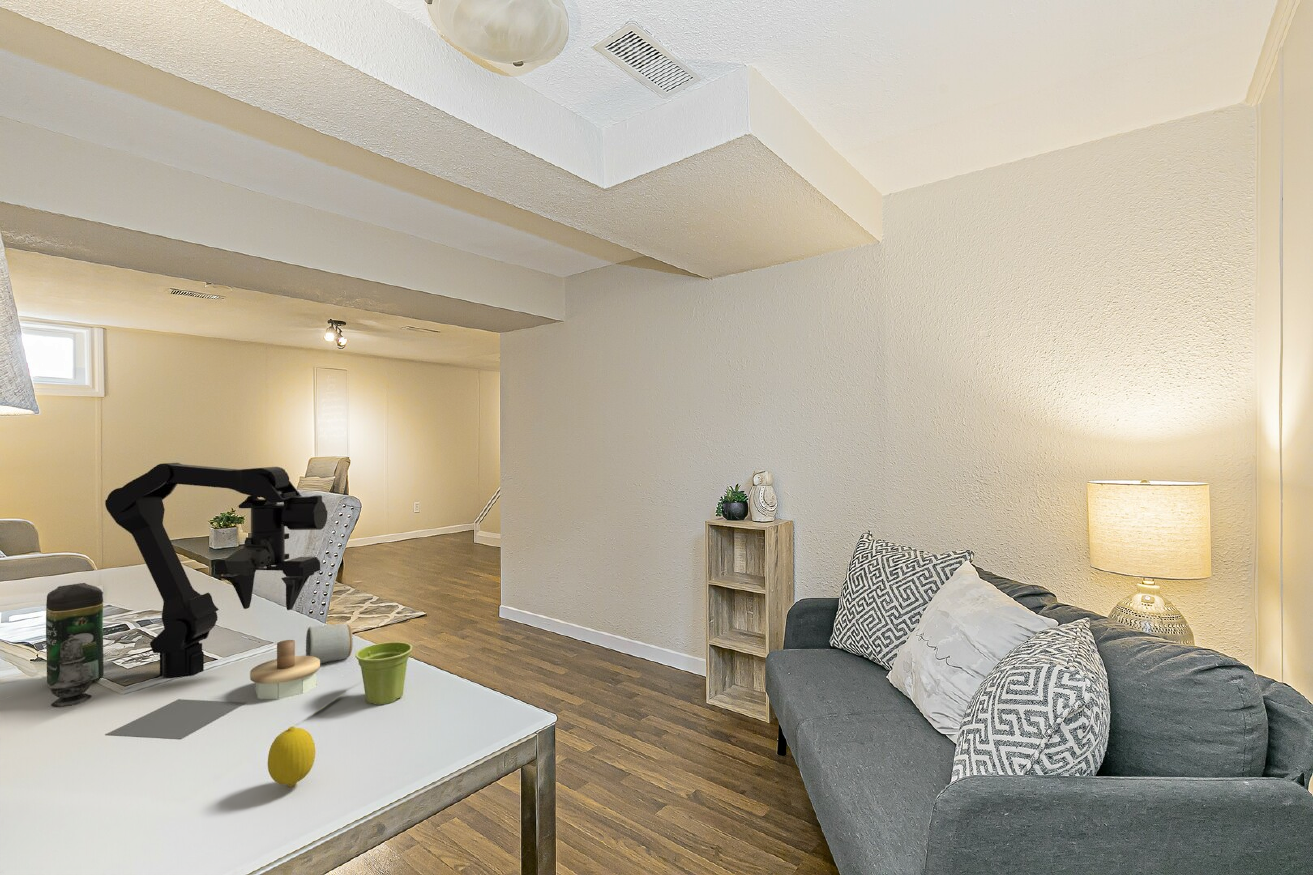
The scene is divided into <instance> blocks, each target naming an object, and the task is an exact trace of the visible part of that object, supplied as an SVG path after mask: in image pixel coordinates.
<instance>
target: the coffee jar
mask: <svg viewBox="0 0 1313 875" xmlns="http://www.w3.org/2000/svg"><path fill="white" fill-rule="evenodd" d="M45 608H46V609H45V643H46V644H45V645H46V683H47V684H48V685H49V684H50V683H52V682H54V681H56V680H57V679H58V677H59V674H60V664H58V663H57V662H58V661H59V660H60V646H61V644H62V643H63V642H64V641H66V640H68V639H70V637H69V636H70V635H71V634H72V635H73V638H75V639H80V640H81V641H82V656H85V659H83V671H84V674H86V675H92V676H93V677H94V678H93V679H92V680H91V684H92V683H94V682H97V681H100V680H101V679H102V678H103V677H104V672H105V670H104V662H105V661H104V592H103V590H102V589H101V588H100V587H97V586H95V585H91V584H88V583H85V582H82V583H73V584H67V585H60V586H57V587H56V588H55V589H53V590H51V591H50V592H48V594H47V595H46V605H45ZM100 678H101V679H100ZM99 679H100V680H99Z"/></svg>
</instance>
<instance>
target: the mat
mask: <svg viewBox="0 0 1313 875" xmlns="http://www.w3.org/2000/svg"><path fill="white" fill-rule="evenodd" d="M245 704H247V702H244V701H243V702H242V701H223V700H202V699H184V698H182V699H181V698H180V699H179V698H178V699H176V700H174V701H172V702H170V703H168V704H166V705H163V706H161V707H159V708H157V709H155V710H152V711H151V712H149V713H147V714H144V715H142V716H141V717H138V718H137V719H134V720H132V721H130V722H128V723H125V724H123V725H122V726H120V727H118V728H115V729H113V730H112V731H110V732H107V733H105V734H104V736H114V737H115V736H117V737H131V738H132V737H133V738H150V739H151V738H152V739H170V740H182V739H185V738H186V737H188V736H190V735H192V734H193V733H196V732H197V731H199V730H201V729H202V728H204V727H206V726H208V725H210V724H212V723H213V722H215V721H217V720H219V719H220V718H222V717H224V716H226V715H228V714H229V713H232V712H233V711H235V710H236V709H238V708H240V707H242V706H244V705H245Z"/></svg>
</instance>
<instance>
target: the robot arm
mask: <svg viewBox="0 0 1313 875" xmlns="http://www.w3.org/2000/svg"><path fill="white" fill-rule="evenodd" d="M178 485H184V486H185V485H186V486H194V487H195V486H196V487H198V486H199V487H206V488H207V487H208V488H210V487H211V488H217V489H218V488H221V489H222V488H223V489H228V490H233V491H235V492H237V493H239V494H243V495H247V497H246V499H245V500H243V501H242V502H241V503H240V504H238V506H237V507H238V508H239V509H250V536H248V537H245V540H244V545H243V547H241V548H239V549H238V550H236V551H235V552H233V553H232V554H230V555H229V556H228V557H223V558H220V559H218V560H217V561H216V563H215V564H214V566H213V569H214V575H216V576H217V575H218V576H219V575H220V577H219V578H221V579H222V580H225V581H227V582H228V583H230V584H231V585H232V586H233V588H234V590H235V592H236V595H237V597H238V600H239V601H240V604H241V606H242V608H243V610H247V609H249V608H250V607H251V603H252V596H253V591H254V583H255V575H256V571H281V572H282V573H283V575H285V576H284V577H281V580H282V581H283V583H284V584H285V605H286V607H285V608H286V610H287V611H291V610H293V608H294V605H295V604H296V602H297V600H298V598H299V595H300V594H301V591H302V590H303V587H304V586H305V584H306V582H307V581H308V579H309V578H310V577H311V576H314V575H315V573H316V572H319V571H321V561H320V560H319V559H320V558H318V557H317V556H299V557H295V558H292V559H290V553H286V551H285V550H286V548H285V547H286V546H285V544H286V543H285V540H288V539H289V540H290V533H286V532H285V527H286V528H287V529H288V530H289V531H315V530H317V531H318V530H323V529H324V528H325V526H326V524H327V522H328V510H327V506H326V504H325V502H323V496H322V495H311V496H302V495H301V493H300V492H299V491H298V489H297V488H296V487H295V486H294V485H293V483H292V482H291V481H290V476H289V475H288V472H286V470H285V469H284V468H282V467H279V466H267V467H253V468H241V469H239V468H238V469H237V468H227V467H218V466H217V467H216V466H215V467H214V466H203V465H193V464H183V463H179V462H167V463H159V464H156V466H154V467H152V468H151V469H150V470H149V471H147V472H146V473H144V474H142V475H139V476H138V477H136V478H134V479H133V480H130V481H129V482H127V483H126V484H124V485H123V486H121V487H118V488H115V489H113V490H112V491H110V493H109V494H108V495H107V498H106V499H105V501H104V505H105V509H106V511H107V512H108V514H109V515H110V516H111V518H112V519H113V521H114V522H115V524H117V525H118V526H119V527H121V529H123V530H125V531H127V532H128V533H129V534H130V535H131V537H132V538H133V540H134V541H135V544H136V546H137V548H138V550H139V551H140V554H141V556H142V559H143V561H144V562H145V565H146V567H147V569H148V571H149V573H150V576H151V577H152V580H153V581H154V584H155V586H156V589H157V591H158V592H159V594H160V596H161V599H162V602H163V605H162V610H161V611H162V612H161V622H162V625H163V629H162V631H161V632H159V633H158V635H156V636H155V637H154V638H153V639H152V640H151V641H150V642H149V645H150V648H151V650H152V653H153V654H159V676H162V678H165V679H177V678H183V677H193V676H196V675H198V674H200V673H203V672H204V671H205V669H204V668H205V666H204V664H205V662H204V660H205V657H204V654H205V652H204V651H203V643H202V642H201V641H203V640H206V639H207V638H209V634H210V632H211V630H213V628H215V626H216V623H217V621H218V613H217V612H218V611H219V610H220V609H219V608H218V607H217V606H216V605H215V603H214V600H213V597H212V595H211V593H210V592H206V593H203V594H201V593H200V592H198V591H196V590H195V589H194V587H193V586H192V584H191V582H190V579H189V577H188V575H187V573H186V571H185V569H184V567H183V565H182V563H181V561H180V558H179V557H178V554H177V552H176V550H175V548H174V546H173V544H172V541H171V539H170V537H169V535H168V532H167V530H166V529H165V526H164V517H165V509H166V508H165V506H164V502H163V500H165V499H166V498H167V497H169V496H170V495H171V494H172V493H173V492H174V490H175V488H176V487H177V486H178Z"/></svg>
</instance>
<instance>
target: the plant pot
mask: <svg viewBox="0 0 1313 875" xmlns="http://www.w3.org/2000/svg"><path fill="white" fill-rule="evenodd" d="M412 650H413V645H412V644H410V643H408V642H405V641H387V642H380V643H375V644H371V645H370V644H369V645H367V646H365V647H362V648H360V649H359V650H358V651H356V652H355V654H354V655H355V657H354V658H356V660H357V661H358V665H359V667H360V669H361V675H362V676H361V677H362V683H363V688H364V696H365V700H366V703H368V704H371V703H372V704H375V705H379V706H380V705H384V704H391V703H393V702H395V701H396V700H397V699H401V698H402V697H403V696H404V690H405V681H406V674H407V673H406V672H407V666H408V660H409V658H410V653H411V652H412Z"/></svg>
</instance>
